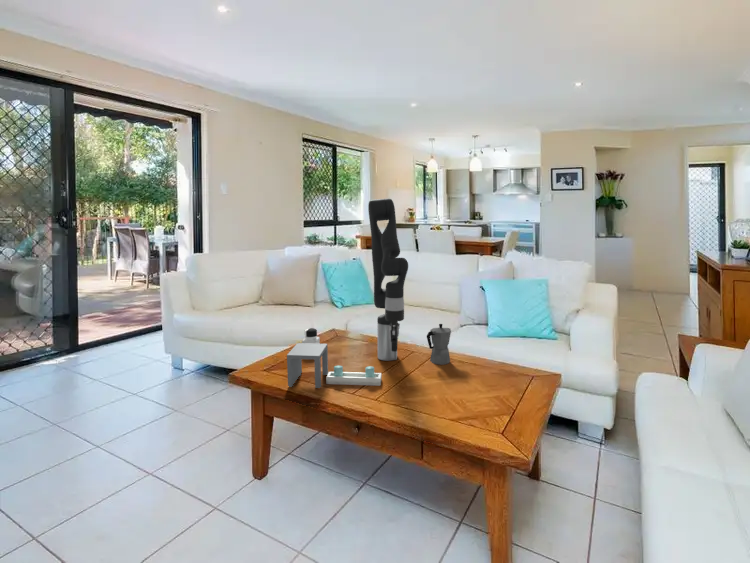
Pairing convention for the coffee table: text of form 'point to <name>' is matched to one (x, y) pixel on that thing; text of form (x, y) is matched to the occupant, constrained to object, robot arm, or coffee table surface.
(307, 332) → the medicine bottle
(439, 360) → the coffeepot
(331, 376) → the tray
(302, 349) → the grey stand
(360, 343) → the coffee table surface
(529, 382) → the coffee table surface
